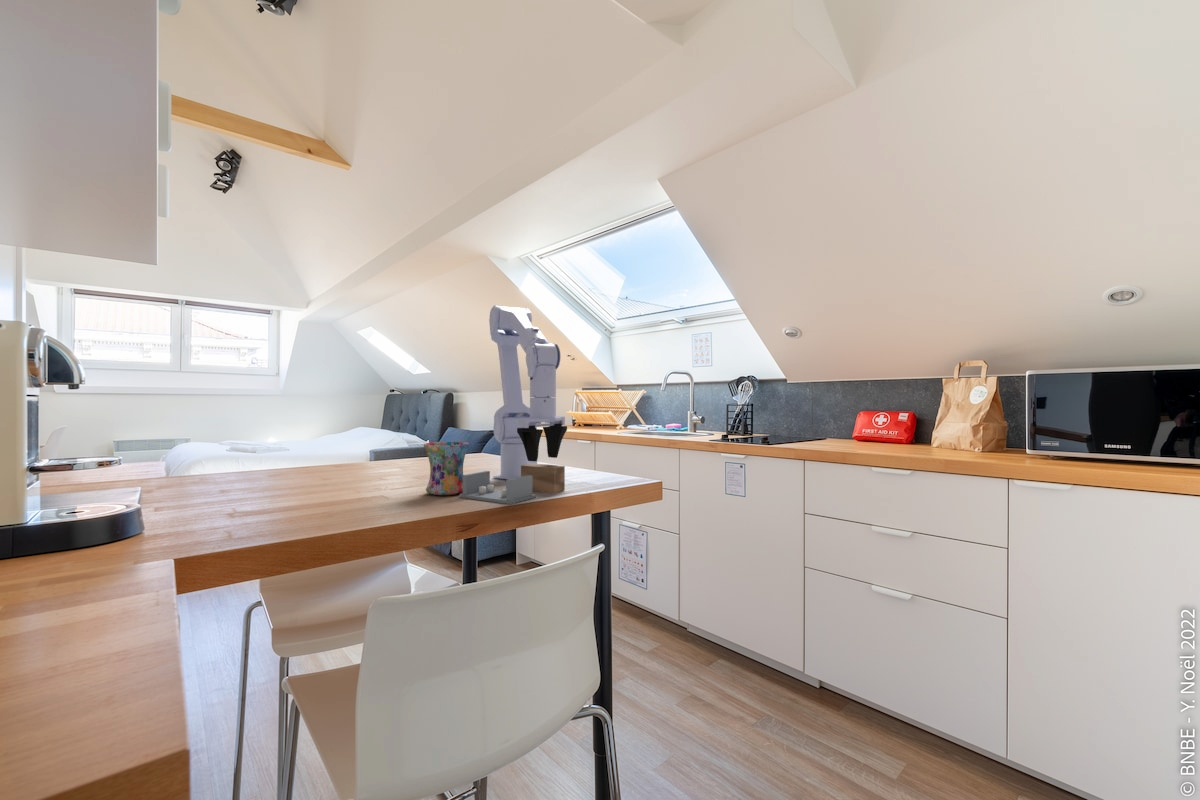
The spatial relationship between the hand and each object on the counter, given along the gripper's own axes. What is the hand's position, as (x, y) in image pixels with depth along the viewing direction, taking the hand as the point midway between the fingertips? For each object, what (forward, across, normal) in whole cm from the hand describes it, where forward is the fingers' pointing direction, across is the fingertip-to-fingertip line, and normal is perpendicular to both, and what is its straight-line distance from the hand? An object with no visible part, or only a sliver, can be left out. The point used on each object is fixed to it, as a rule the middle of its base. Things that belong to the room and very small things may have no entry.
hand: (542, 459), depth 114 cm
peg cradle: (+7, -11, +3) cm, 14 cm away
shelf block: (+7, 0, 0) cm, 7 cm away
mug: (+7, -12, +16) cm, 21 cm away
